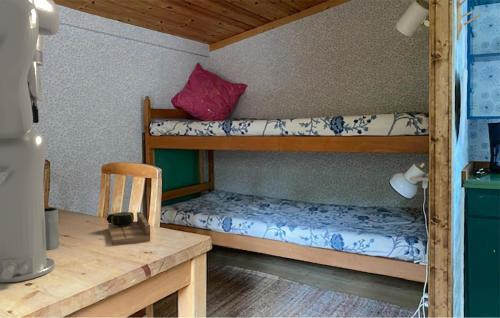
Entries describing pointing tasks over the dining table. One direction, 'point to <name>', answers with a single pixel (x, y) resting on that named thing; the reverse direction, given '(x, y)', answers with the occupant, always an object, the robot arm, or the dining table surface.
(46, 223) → the planter
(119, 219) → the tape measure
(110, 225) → the brown wooden tray
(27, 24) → the robot arm
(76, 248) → the dining table surface
